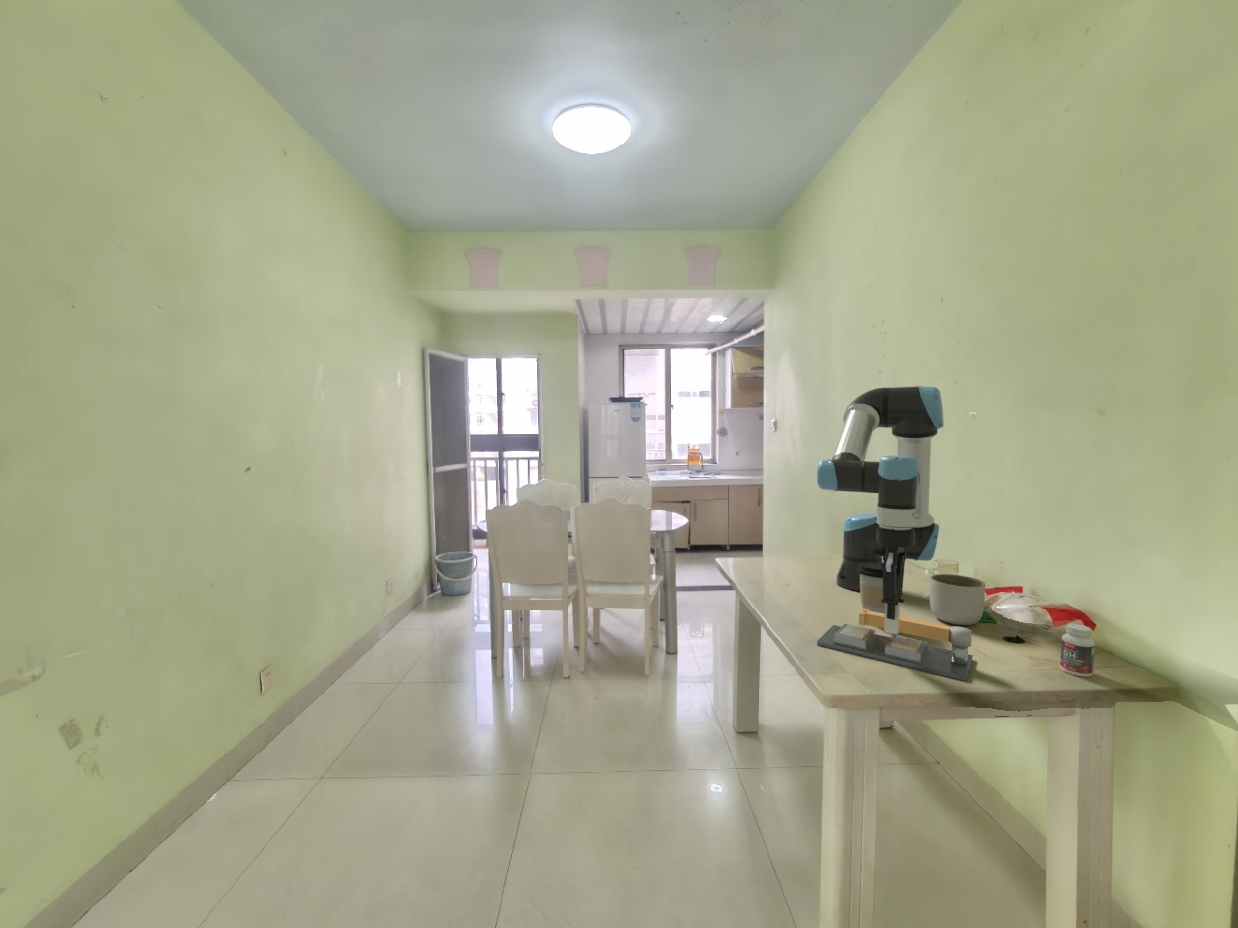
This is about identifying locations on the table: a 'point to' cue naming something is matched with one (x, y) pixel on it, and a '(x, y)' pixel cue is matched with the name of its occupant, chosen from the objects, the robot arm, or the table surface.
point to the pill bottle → (1077, 651)
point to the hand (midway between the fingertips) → (891, 631)
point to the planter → (957, 598)
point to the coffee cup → (871, 586)
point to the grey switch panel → (899, 650)
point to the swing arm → (920, 628)
